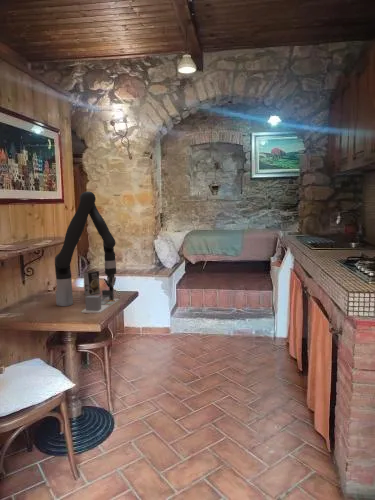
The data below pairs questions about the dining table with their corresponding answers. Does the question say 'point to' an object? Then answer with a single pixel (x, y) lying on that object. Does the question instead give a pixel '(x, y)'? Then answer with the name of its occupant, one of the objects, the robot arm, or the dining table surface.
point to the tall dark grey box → (107, 296)
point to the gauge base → (96, 304)
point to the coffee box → (91, 282)
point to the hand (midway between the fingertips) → (111, 292)
